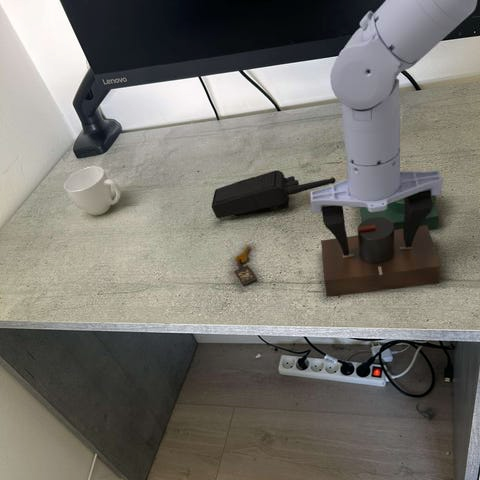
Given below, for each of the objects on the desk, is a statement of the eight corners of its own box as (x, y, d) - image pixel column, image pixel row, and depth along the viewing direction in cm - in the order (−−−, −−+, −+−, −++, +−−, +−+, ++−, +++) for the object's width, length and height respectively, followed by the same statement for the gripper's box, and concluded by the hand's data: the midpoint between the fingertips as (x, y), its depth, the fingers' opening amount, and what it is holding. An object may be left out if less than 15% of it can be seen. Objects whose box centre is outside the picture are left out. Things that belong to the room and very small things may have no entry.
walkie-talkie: (218, 188, 84) (334, 160, 78) (224, 224, 84) (340, 199, 78) (205, 182, 78) (329, 151, 72) (211, 220, 78) (336, 193, 72)
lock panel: (425, 240, 67) (426, 222, 65) (439, 284, 61) (440, 266, 59) (323, 255, 70) (320, 238, 68) (326, 298, 64) (324, 281, 62)
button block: (427, 190, 74) (428, 167, 71) (439, 228, 68) (441, 204, 65) (358, 201, 76) (356, 179, 73) (364, 239, 70) (363, 216, 67)
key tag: (257, 282, 69) (256, 279, 69) (237, 287, 70) (236, 284, 69) (249, 246, 75) (248, 243, 74) (231, 251, 75) (230, 248, 75)
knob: (391, 238, 64) (391, 212, 61) (396, 261, 62) (396, 234, 58) (357, 243, 65) (355, 217, 62) (361, 265, 62) (359, 240, 59)
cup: (91, 197, 97) (74, 168, 92) (135, 194, 94) (121, 163, 89) (74, 222, 92) (56, 192, 87) (120, 220, 89) (104, 188, 84)
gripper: (306, 183, 52) (321, 275, 62) (451, 159, 49) (442, 259, 59) (305, 148, 56) (318, 239, 66) (437, 124, 53) (431, 223, 63)
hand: (376, 246), depth 63 cm, fingers open, 7 cm apart
